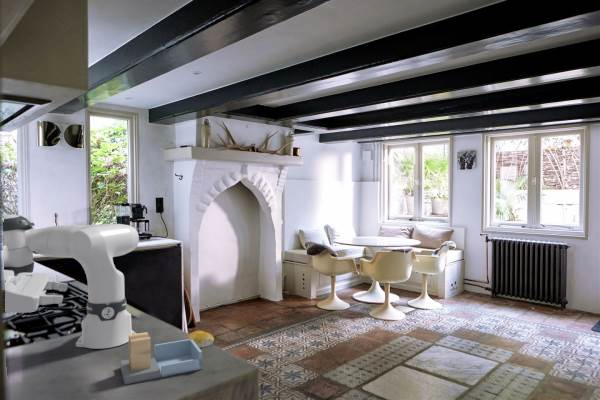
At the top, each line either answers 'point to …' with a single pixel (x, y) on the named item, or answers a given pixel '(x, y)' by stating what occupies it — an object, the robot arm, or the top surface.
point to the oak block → (139, 351)
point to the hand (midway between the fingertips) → (64, 293)
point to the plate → (139, 372)
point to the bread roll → (201, 338)
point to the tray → (178, 357)
